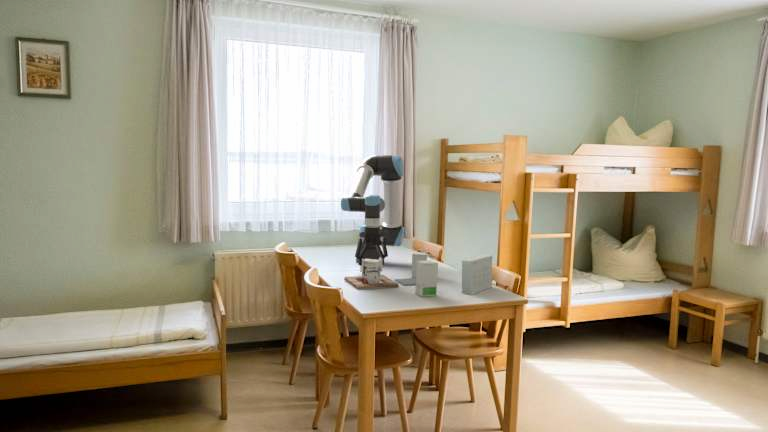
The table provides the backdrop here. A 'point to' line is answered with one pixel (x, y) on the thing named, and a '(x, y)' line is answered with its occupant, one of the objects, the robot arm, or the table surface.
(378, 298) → the table surface
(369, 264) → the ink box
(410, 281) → the mat
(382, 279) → the board
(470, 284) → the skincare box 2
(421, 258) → the supplement box
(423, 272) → the skincare box
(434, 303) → the table surface
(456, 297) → the table surface
